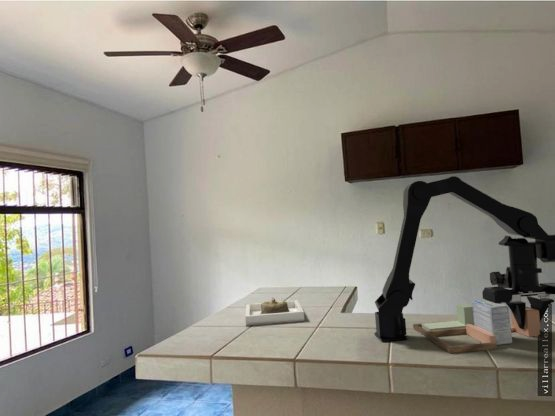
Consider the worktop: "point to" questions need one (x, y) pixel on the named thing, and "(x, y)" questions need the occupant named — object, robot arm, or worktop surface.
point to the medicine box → (493, 319)
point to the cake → (274, 307)
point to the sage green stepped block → (463, 318)
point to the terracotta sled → (529, 329)
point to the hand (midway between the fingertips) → (528, 328)
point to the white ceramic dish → (273, 314)
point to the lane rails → (445, 346)
